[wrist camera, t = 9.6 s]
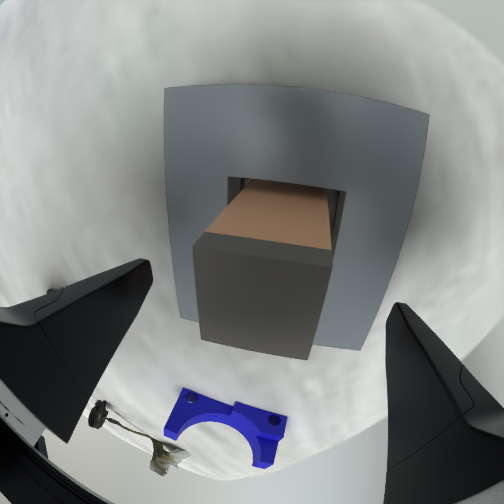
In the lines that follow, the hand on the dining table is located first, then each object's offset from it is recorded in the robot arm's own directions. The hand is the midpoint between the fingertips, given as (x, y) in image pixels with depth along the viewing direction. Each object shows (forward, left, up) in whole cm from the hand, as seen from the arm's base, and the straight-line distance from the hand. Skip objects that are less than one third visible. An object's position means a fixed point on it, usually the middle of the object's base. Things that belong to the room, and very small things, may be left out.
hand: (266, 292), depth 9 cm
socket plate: (0, 0, -7) cm, 7 cm away
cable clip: (-24, +3, -8) cm, 25 cm away
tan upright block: (0, 0, -7) cm, 7 cm away
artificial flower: (-48, +21, -8) cm, 53 cm away
